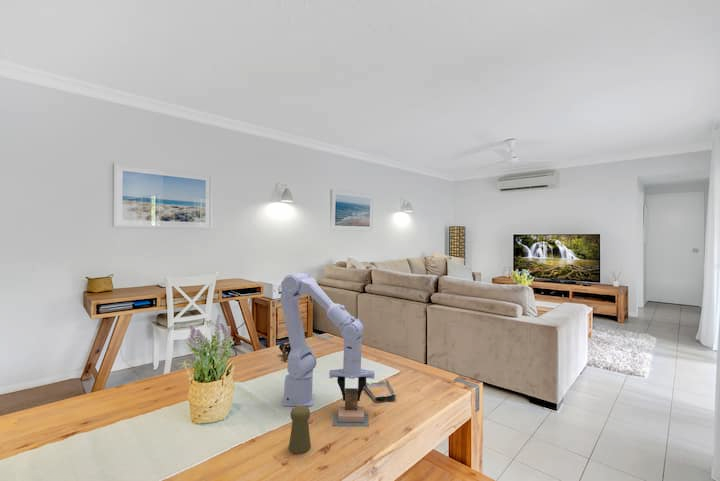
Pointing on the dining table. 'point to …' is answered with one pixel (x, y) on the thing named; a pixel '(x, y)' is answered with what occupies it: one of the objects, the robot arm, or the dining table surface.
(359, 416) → the glazed tile
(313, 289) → the robot arm
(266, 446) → the dining table surface
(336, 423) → the felt mat
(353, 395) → the walnut block
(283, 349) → the pottery mug
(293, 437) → the olive green pepper mill
